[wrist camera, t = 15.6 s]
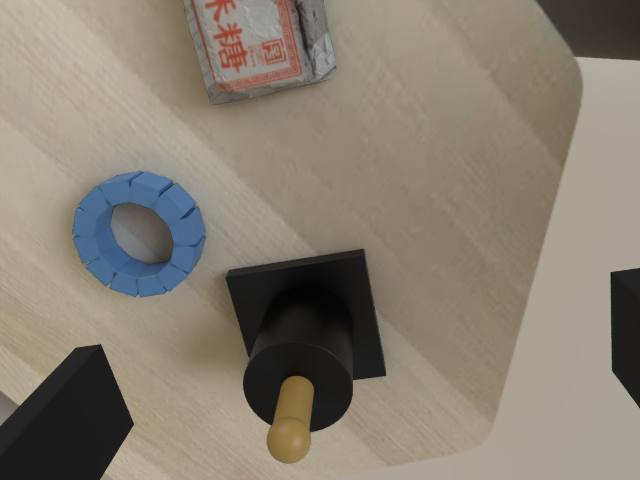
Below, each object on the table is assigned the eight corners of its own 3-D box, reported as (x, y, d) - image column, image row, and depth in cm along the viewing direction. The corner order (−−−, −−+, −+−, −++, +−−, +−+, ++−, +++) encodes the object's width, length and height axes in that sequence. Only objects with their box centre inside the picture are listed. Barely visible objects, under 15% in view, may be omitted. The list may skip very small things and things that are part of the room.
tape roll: (185, 162, 42) (173, 170, 39) (218, 272, 45) (208, 287, 42) (74, 183, 43) (54, 193, 40) (113, 288, 46) (98, 304, 44)
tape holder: (364, 248, 43) (367, 360, 28) (385, 366, 47) (399, 519, 32) (229, 270, 45) (163, 386, 30) (261, 382, 49) (218, 535, 34)
